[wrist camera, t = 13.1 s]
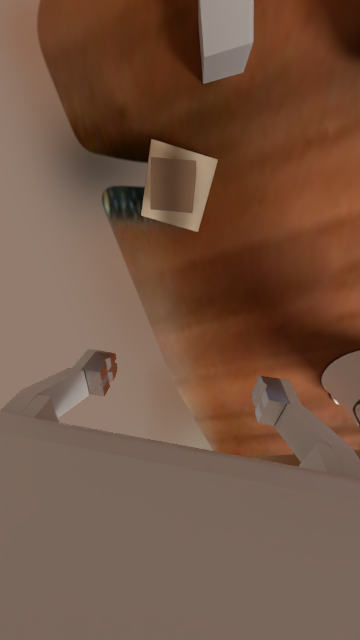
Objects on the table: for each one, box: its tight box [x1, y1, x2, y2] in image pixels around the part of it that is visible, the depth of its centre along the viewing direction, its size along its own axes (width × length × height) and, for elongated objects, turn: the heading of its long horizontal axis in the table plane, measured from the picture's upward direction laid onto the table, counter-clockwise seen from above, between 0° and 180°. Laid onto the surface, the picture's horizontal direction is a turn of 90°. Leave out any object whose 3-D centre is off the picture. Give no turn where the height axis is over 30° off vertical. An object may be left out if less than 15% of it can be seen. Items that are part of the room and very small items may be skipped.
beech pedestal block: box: [141, 139, 218, 232], centre depth 29 cm, size 9×9×4 cm
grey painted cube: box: [198, 0, 254, 84], centre depth 21 cm, size 5×5×5 cm
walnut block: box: [150, 157, 196, 213], centre depth 25 cm, size 5×5×6 cm
